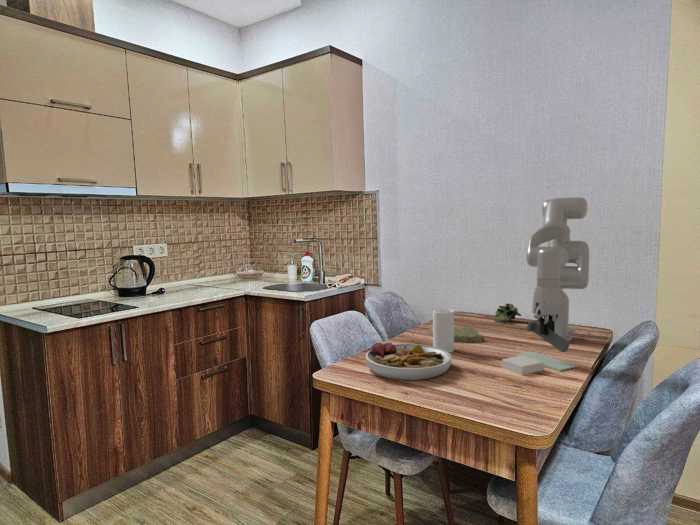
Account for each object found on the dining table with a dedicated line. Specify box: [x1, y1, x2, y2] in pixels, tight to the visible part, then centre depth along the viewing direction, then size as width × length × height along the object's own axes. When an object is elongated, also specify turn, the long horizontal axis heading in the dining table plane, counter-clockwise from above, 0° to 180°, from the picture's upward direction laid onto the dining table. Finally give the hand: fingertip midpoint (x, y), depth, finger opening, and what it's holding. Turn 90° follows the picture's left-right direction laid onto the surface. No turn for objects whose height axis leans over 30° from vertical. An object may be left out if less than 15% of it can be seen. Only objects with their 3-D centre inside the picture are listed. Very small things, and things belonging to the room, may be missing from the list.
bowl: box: [365, 341, 452, 381], centre depth 162 cm, size 30×30×8 cm
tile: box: [501, 355, 544, 376], centre depth 159 cm, size 3×9×10 cm
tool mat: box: [514, 351, 579, 372], centre depth 167 cm, size 9×20×1 cm, turn 26°
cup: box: [432, 308, 455, 354], centre depth 183 cm, size 8×8×16 cm
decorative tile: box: [429, 326, 483, 343], centre depth 203 cm, size 19×20×4 cm
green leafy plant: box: [492, 303, 522, 323], centre depth 231 cm, size 11×11×12 cm
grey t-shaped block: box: [526, 319, 571, 353], centre depth 164 cm, size 15×6×4 cm, turn 25°
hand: (547, 333), depth 165 cm, fingers closed on grey t-shaped block, 2 cm apart
